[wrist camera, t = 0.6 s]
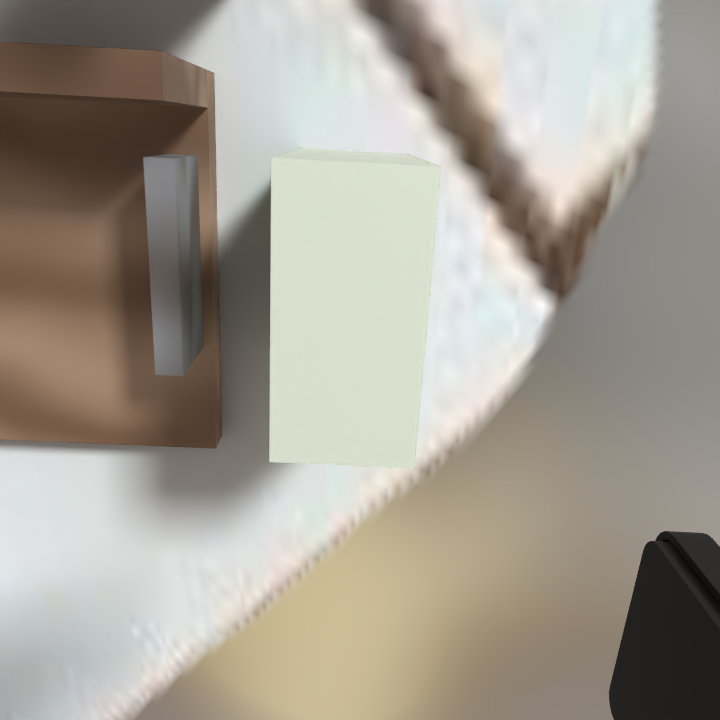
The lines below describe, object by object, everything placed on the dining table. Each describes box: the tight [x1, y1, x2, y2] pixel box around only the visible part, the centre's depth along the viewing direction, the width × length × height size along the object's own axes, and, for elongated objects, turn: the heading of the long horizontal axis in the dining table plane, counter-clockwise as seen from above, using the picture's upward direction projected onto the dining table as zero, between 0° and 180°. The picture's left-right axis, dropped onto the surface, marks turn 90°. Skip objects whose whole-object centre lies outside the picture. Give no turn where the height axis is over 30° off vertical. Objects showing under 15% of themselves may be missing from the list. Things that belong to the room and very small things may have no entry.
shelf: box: [0, 42, 222, 448], centre depth 28 cm, size 18×16×8 cm
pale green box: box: [269, 148, 441, 468], centre depth 26 cm, size 10×5×12 cm, turn 177°
